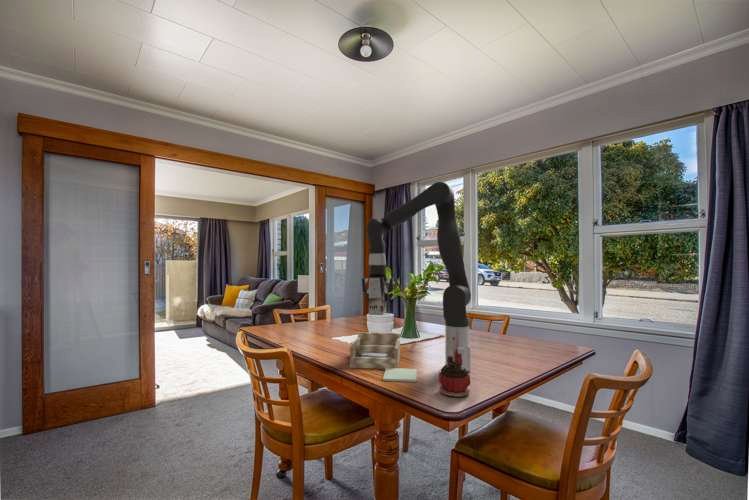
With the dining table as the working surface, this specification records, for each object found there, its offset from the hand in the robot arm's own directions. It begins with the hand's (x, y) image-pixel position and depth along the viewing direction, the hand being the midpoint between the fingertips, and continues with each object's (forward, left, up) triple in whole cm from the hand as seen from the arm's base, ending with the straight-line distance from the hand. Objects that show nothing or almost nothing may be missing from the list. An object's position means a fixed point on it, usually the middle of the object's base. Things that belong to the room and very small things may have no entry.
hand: (377, 301), depth 157 cm
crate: (0, +4, -25) cm, 25 cm away
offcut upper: (0, +10, -23) cm, 25 cm away
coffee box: (0, 0, -6) cm, 6 cm away
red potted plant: (-29, +38, -25) cm, 54 cm away
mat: (-11, +22, -25) cm, 35 cm away
